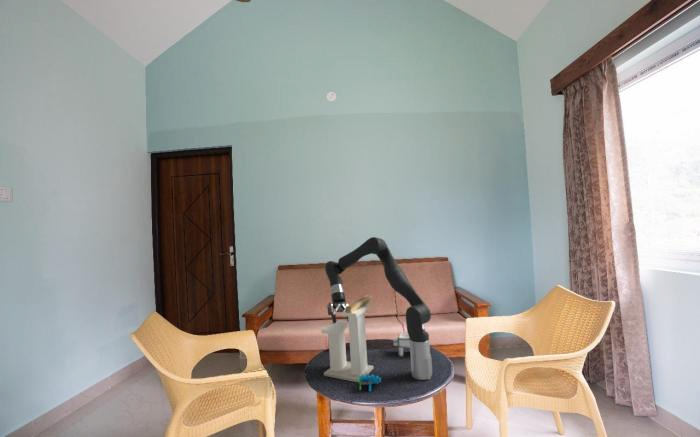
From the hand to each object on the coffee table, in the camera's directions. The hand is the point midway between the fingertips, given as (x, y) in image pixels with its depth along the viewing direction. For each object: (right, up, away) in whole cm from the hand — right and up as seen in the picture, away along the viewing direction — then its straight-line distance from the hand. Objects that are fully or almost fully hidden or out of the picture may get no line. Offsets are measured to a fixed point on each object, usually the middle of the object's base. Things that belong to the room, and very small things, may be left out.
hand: (342, 322), depth 164 cm
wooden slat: (+9, +11, -7) cm, 16 cm away
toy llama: (+38, -21, +8) cm, 44 cm away
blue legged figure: (+13, -21, -26) cm, 36 cm away
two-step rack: (+4, -22, -9) cm, 24 cm away
